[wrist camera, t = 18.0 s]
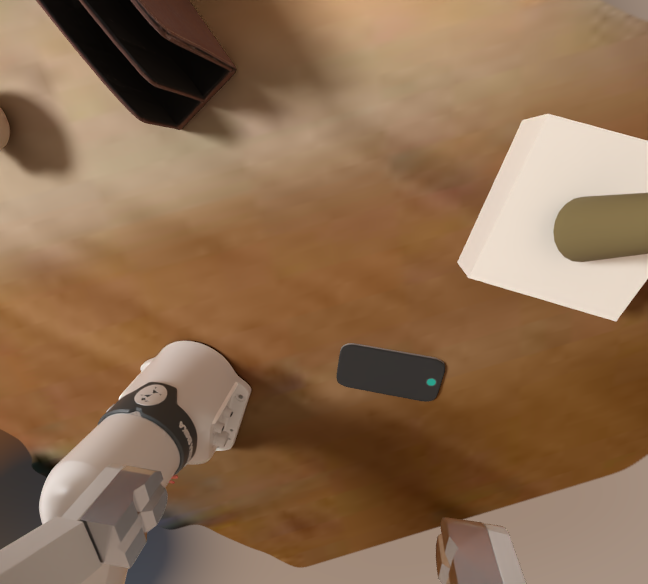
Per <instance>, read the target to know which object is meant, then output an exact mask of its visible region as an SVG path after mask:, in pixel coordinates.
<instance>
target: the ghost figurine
mask: <svg viewBox="0 0 648 584" xmlns="http://www.w3.org/2000/svg"><path fill="white" fill-rule="evenodd" d="M9 137H10V127H9V123H8V120H7V118H6V116H5V114H4V112H3V110H2V109H1V108H0V151H1V149H2V148H3V147H5V146H6V145H7V143H8V141H9Z"/></svg>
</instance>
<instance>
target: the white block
mask: <svg viewBox="0 0 648 584" xmlns="http://www.w3.org/2000/svg"><path fill="white" fill-rule="evenodd" d="M634 193H648V141H647V140H643V139H639V138H636V137H632V136H628V135H624V134H621V133H617V132H613V131H610V130H606V129H602V128H599V127H595V126H591V125H588V124H584V123H580V122H576V121H573V120H569V119H565V118H562V117H558V116H554V115H551V114H545V115H541V116H537V117H533V118H529V119H525V120H522V122H521V124H520V127H519V129H518V131H517V133H516V135H515V138H514V140H513V142H512V144H511V146H510V148H509V151H508V153H507V155H506V157H505V159H504V162H503V164H502V166H501V168H500V170H499V173H498V175H497V177H496V179H495V181H494V183H493V186H492V188H491V190H490V192H489V194H488V197H487V199H486V201H485V203H484V205H483V208H482V210H481V212H480V214H479V216H478V218H477V221H476V223H475V225H474V227H473V229H472V232H471V234H470V236H469V238H468V240H467V242H466V245H465V247H464V249H463V251H462V253H461V256H460V258H459V260H458V262H457V263H458V264H459V265H460V267H461V268H462V270H463V271H464V272H465V274H466V275H467V276H468V278H471V279H474V280H478V281H481V282H484V283H488V284H491V285H495V286H498V287H501V288H505V289H508V290H512V291H515V292H518V293H522V294H525V295H528V296H532V297H535V298H539V299H542V300H545V301H549V302H552V303H555V304H559V305H562V306H566V307H569V308H572V309H576V310H579V311H583V312H586V313H589V314H593V315H596V316H599V317H603V318H606V319H610V320H613V321H617V319H618V318H619V317H620V315H621V314H622V313H623V311H624V310H625V309H626V307H627V306H628V305H629V303H630V302H631V301H632V299H633V298H634V297H635V295H636V294H637V293H638V291H639V290H640V289H641V287H642V286H643V284H644V283H645V282H646V280H647V279H648V254H642V255H634V256H626V257H618V258H611V259H603V260H595V261H587V262H574V261H571V260H569V259H567V258H565V257H564V256H563V255H562V254H561V253H560V252H559V250H558V248H557V246H556V244H555V241H554V233H553V230H554V224H555V220H556V218H557V215H558V213H559V211H560V210H561V209H562V208H563V207H564V205H565V204H566V203H568V202H569V201H571V200H573V199H575V198H579V197H586V196H602V195H618V194H634Z"/></svg>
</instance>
